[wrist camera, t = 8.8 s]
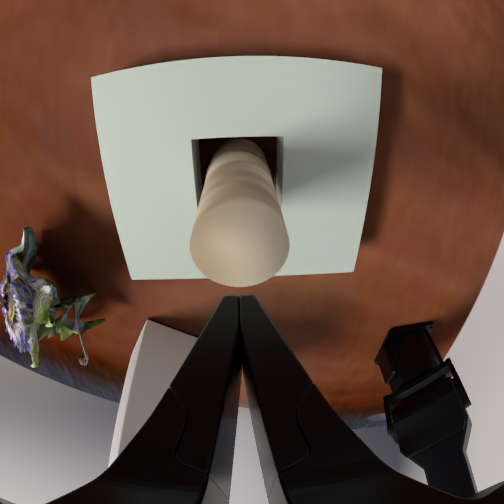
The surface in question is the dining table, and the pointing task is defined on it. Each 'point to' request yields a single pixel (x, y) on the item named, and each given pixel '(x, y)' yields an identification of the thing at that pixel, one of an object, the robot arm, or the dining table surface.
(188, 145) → the board
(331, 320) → the dining table surface
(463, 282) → the dining table surface
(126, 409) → the milk carton
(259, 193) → the peg
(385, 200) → the dining table surface
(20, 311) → the passion flower
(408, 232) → the dining table surface
